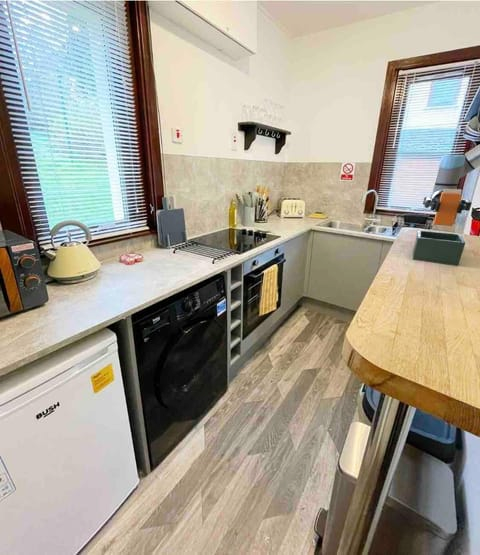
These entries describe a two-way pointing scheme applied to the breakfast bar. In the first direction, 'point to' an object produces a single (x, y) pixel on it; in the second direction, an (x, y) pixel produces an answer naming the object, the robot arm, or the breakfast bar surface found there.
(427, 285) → the breakfast bar surface
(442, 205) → the block
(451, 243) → the waste bin
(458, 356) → the breakfast bar surface
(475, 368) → the breakfast bar surface
